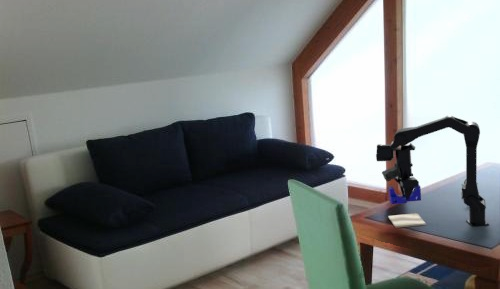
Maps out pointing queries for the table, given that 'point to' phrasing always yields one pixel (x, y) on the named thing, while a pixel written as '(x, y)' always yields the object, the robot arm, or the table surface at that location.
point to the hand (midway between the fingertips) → (405, 197)
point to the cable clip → (401, 199)
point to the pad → (406, 220)
